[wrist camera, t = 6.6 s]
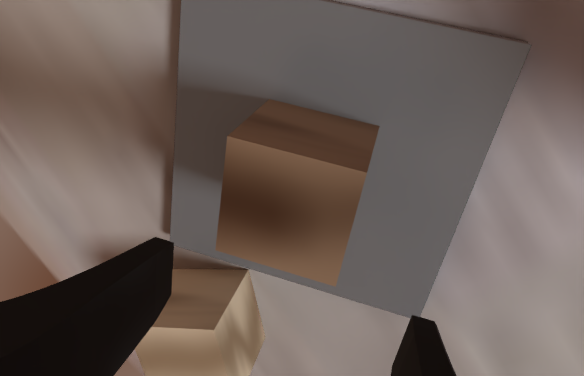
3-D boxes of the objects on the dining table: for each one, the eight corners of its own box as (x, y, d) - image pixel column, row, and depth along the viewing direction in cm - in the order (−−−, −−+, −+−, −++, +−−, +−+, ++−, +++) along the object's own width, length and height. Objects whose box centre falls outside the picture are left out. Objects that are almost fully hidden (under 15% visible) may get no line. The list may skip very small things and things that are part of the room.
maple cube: (265, 336, 28) (236, 404, 24) (193, 332, 29) (154, 396, 25) (248, 268, 26) (213, 330, 22) (172, 268, 27) (125, 325, 23)
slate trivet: (418, 310, 24) (418, 320, 23) (176, 236, 26) (169, 244, 25) (527, 41, 17) (531, 45, 17) (191, -29, 19) (182, -29, 19)
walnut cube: (353, 222, 22) (335, 286, 18) (255, 195, 23) (215, 250, 18) (379, 126, 20) (367, 173, 15) (269, 99, 20) (227, 136, 16)
